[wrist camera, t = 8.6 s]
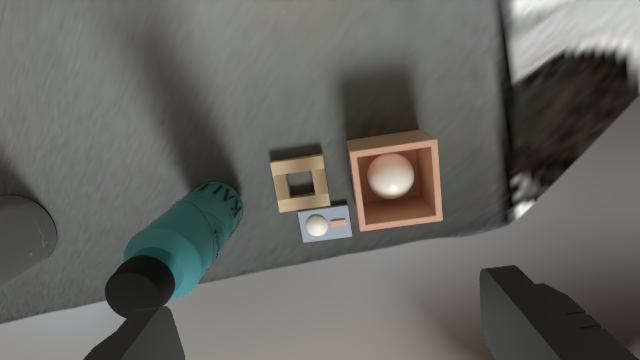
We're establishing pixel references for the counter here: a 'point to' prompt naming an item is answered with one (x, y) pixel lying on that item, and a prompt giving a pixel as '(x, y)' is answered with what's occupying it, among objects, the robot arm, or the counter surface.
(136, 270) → the beverage bottle
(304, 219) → the tile
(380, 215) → the open box
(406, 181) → the ball
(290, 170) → the stand
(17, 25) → the counter surface
